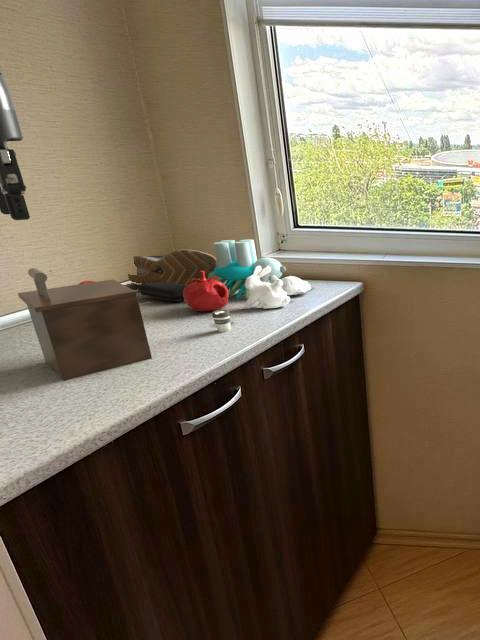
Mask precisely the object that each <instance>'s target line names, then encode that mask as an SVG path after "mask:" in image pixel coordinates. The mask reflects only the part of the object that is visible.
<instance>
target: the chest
mask: <svg viewBox="0 0 480 640" xmlns="http://www.w3.org/2000/svg"><path fill="white" fill-rule="evenodd" d="M26 306H27V310H28V312H29V315H30V319H31V322H32V324H33V328H34V331H35V334H36V337H37V340H38V343H39V345H40V349H41V352H42V354H43V358H44V362H45V363H46V364H47V366H48V367H49V368H50V369H51V370H52V371H53V372H54V373H55V374H56V375H57V376H58V377H59V378H60V380H62V381H63V382H65V381H69V380H73V379H76V378H81V377H85V376H89V375H93V374H96V373H101V372H104V371H108V370H112V369H116V368H120V367H124V366H128V365H133V364H135V363H139V362H143V361H147V360H152V359H153V357H152V352H151V349H150V344H149V340H148V337H147V332H146V328H145V323H144V320H143V315H142V311H141V306H140V302H139V298H138V295H137V296H132V297H126V298H120V299H114V300H108V301H102V302H96V303H90V304H84V305H78V306H72V307H66V308H60V309H54V310H48V311H42V312H35V311H34V310H33V309H32V308H30V307H29V306H28V305H27V304H26Z"/></svg>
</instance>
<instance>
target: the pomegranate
mask: <svg viewBox="0 0 480 640" xmlns="http://www.w3.org/2000/svg"><path fill="white" fill-rule="evenodd" d="M200 274H201V280H199V279H195V278H189V279H192V280H191V281H193V280H194V279H195V280H197V281H198V282H193V283H191V284H189V285H187V286H186V287H185V288H184V290H183V298H184V300H183V301H184V302H185V303H186V305H187V306H188V307H189V308H191V309H192V310H194V311H196V312H213V311H216V310H222V309H223V308H225V307H226V305H227V304H228V303H229V297H228V296H229V290H228V289H227V287H226V286H225V284H224V283H222V282H219V280H218V279H220V278H219V277H217V276H215V277H212V278H209V279H206V278H205V272H204V271H200ZM214 278H215V279H214ZM189 279H187V280H189ZM191 281H190V282H191ZM188 283H189V282H188Z"/></svg>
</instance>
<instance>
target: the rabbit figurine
mask: <svg viewBox="0 0 480 640" xmlns="http://www.w3.org/2000/svg"><path fill="white" fill-rule="evenodd" d="M270 271H271V267H270V266H267V267H265V268H264V269H262V270H261V266H257V267H256V268H255V270H254V273H253V275H252V276H249V277H247V278H246V282H245V287H246V288H247V289H249V293H250V296H249V298H248V300H247V299H246V301H245V303H244V305H243V306H240V307H239V308H238V309H239V310H243V309H246V310H247V309H249V308H250V307H252V306H254V305H255V304H256V303H257V301H258V303H257V304H256V306H255V308H256V309H277V308H280V307H285V306H287V305H288V304H290V302H291V297H290V296H289V295H286V292H285V291H284V290H282V288H281V287H280V286H282V285H283V282H282V280H280V279H281V278H280V279H278V278H277V277H276V276H275V275H271V278H273V279H275V280H276V282H275V283H274V284H271V283H269V282H268V283H264V282H261V281H260V280H259V278H260V277H262V276H264V275H266V274H268V273H269V272H270Z"/></svg>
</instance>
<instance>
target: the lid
mask: <svg viewBox="0 0 480 640" xmlns="http://www.w3.org/2000/svg"><path fill="white" fill-rule="evenodd" d="M27 274H28V276H29V277H30V278H31V279H33V281H34V285H35V288H36V290H29V291H24V292H18V293H17V295H18V298H19V299H20V300H21V301H22V302H24V304H26V306H27V305H28V306H29V307H30V308H32V309H33V310H34V311H35V312H42V311H48V310H54V309H60V308H66V307H72V306H78V305H84V304H90V303H96V302H102V301H108V300H114V299H120V298H126V297H132V296H137V297H138V295H137V291H136V290H134V289H132V288H130V287H129V286H126V285H125V284H122V283H121V282H118V281H117V280H115V279H108V280H107V279H106V280H99V281H95V282H92V283H85V284H79V283H78V284H72V285H66V286H59V287H52V288H48V287H47V284H46V282H47V280H48V276H47V274H46V273H44V272H42V270H40V269H39V268H36V267H31V268H29V269H28V270H27ZM28 306H27V307H28Z"/></svg>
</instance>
